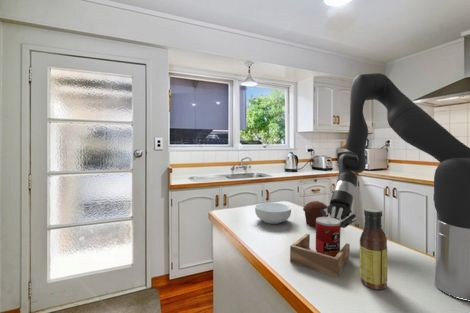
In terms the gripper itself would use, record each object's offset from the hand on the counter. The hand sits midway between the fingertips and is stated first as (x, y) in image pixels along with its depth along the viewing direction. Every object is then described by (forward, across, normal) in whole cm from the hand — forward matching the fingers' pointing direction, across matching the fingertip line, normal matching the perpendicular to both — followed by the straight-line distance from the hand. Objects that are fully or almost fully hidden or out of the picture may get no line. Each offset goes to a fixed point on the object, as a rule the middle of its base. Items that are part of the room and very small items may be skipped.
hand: (332, 235), depth 84 cm
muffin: (-12, -14, +18) cm, 26 cm away
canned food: (+6, 0, 0) cm, 6 cm away
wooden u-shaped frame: (+11, 0, -5) cm, 13 cm away
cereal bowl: (-5, -31, +12) cm, 33 cm away
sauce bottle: (+14, +15, -8) cm, 22 cm away
